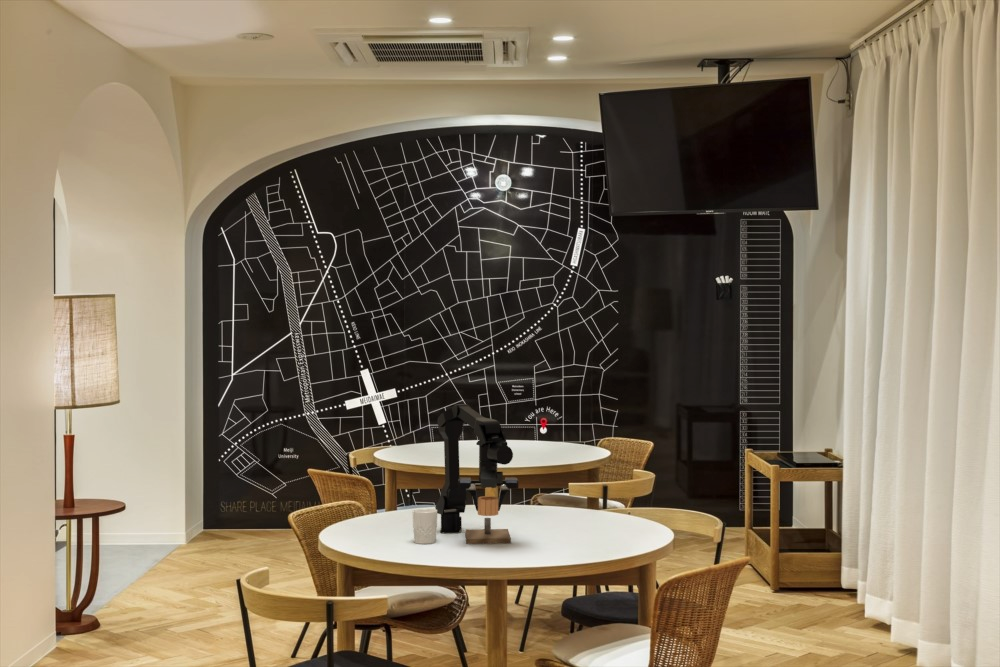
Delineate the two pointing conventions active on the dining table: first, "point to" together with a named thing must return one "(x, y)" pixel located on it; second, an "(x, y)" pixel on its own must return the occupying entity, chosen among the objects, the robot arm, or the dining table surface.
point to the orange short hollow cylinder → (487, 506)
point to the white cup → (425, 525)
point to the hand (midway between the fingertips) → (487, 510)
